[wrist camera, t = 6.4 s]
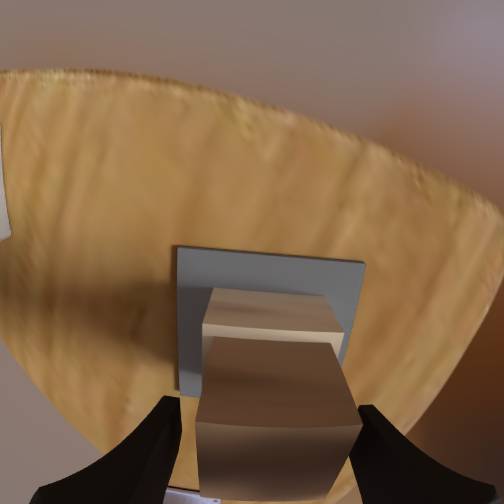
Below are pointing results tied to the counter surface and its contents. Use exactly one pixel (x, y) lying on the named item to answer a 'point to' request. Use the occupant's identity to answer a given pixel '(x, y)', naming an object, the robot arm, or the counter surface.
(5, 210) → the small box
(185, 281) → the mat
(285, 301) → the maple block
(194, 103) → the counter surface
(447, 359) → the counter surface
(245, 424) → the walnut block
